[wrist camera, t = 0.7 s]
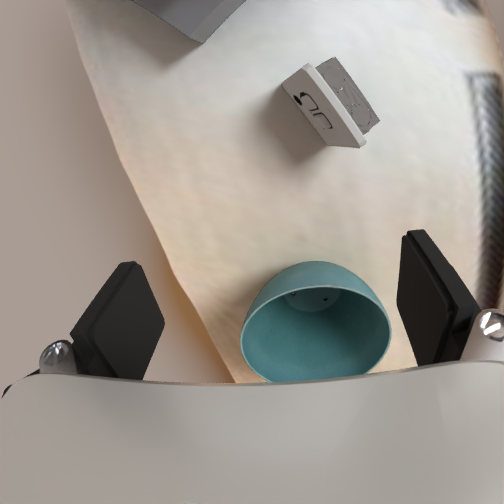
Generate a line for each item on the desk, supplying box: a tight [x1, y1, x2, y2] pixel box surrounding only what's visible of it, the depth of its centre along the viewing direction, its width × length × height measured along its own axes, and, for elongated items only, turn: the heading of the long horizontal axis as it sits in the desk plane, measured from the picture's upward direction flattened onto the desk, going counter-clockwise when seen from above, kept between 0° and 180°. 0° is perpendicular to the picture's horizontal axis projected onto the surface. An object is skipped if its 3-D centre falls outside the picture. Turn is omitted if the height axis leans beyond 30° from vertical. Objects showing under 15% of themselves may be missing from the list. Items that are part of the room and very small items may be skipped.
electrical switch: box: [282, 57, 380, 148], centre depth 29 cm, size 9×5×9 cm, turn 38°
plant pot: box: [240, 261, 391, 382], centre depth 40 cm, size 18×18×12 cm
